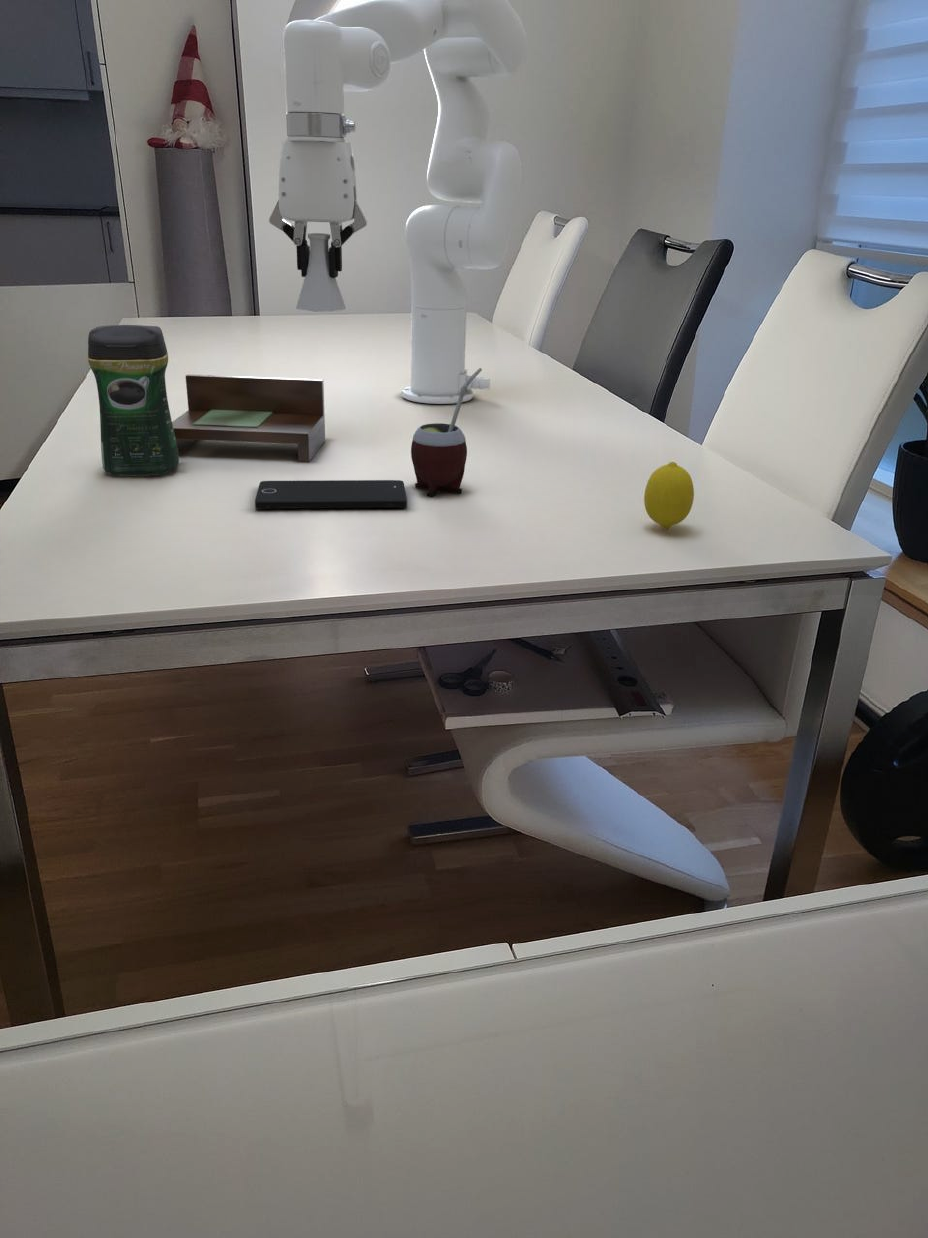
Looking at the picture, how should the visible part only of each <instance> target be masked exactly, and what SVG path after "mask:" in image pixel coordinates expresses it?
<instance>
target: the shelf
mask: <svg viewBox="0 0 928 1238" xmlns="http://www.w3.org/2000/svg"><path fill="white" fill-rule="evenodd" d="M185 387H186V399H187V409H188V410H187V411H185V412H184V413H182V414H181V415H179V416H178V417H177V418H175V419H174V420H172V424H173V429H174V433H175V438H176V443H177V448H178V455H179V456H180V455H181V454H182V453H184V452H185V451H186V450H187V449H188V448H189V447H191V446H192V445H193V444H194V443H195V442H196V441H216V442H217V441H219V442H240V443H241V442H242V443H243V442H244V443H264V444H265V443H269V444H270V443H271V444H292V445H297V451H298V452H297V455H298V462H299V463H310V462H311V461H312V460H313V458H314V457H315V455H316V454H317V452H318V451H319V450H320V448H321V447H322V445H323V444H324V443H325V442H326V419H325V388H324V387H325V385H324V379H321V378H320V379H319V378H318V379H317V378H314V379H313V378H292V377H267V376H265V377H264V376H242V375H237V376H236V375H216V374H215V375H212V374H186V375H185Z"/></svg>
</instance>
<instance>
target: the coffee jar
mask: <svg viewBox="0 0 928 1238" xmlns="http://www.w3.org/2000/svg"><path fill="white" fill-rule="evenodd" d="M87 344H88V346H87V361H88V365H89V367H90V370H91V372H92V374H93V375H94V379H95V382H96V389H97V396H98V406H99V422H100V423H99V425H100V426H99V427H100V451H101V452H100V453H101V454H100V455H101V465H102V470H104V471H105V473H107V474H109V475H111V476H122V477H147V476H156V475H164V474H167V473H168V472H169V473H170V472H172V471H173V472H174V470H176V469H177V468H178V466H179V464H180V457H179V456H180V455H178V448H177V443H176V438H175V433H174V429H173V424H172V422H173V420H172V417H171V416H172V415H171V410H170V405H169V400H168V393H167V383H166V370H167V367H168V364H169V352H168V348H167V344H166V341H165V336H164V333H163V331H162V328H161V327H160V326H158V325H141V324H113V325H110V324H109V325H100V326H96V327H94V328H93V329H90V331H89V333H88V339H87Z"/></svg>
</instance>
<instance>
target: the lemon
mask: <svg viewBox="0 0 928 1238" xmlns="http://www.w3.org/2000/svg"><path fill="white" fill-rule="evenodd" d="M693 482H694V481H693V479H692V477H691V475H690V474H689V472H688V471H687V470H686V469H685V468H684V467H682V466H680V465H678V463H677V462H675V461H669V462H668V463H667V464H665V465H662V466H660V467H658V468H656V469H655V470H654V471H652V473H651V474H650V476H649V478H648V480H647V483H646V485H645V489H644V498H643V503H644V509H645V512H646V513H647V515H648V518H650V519H651V520H652V521H653V522H654V523H656V524H657V525H659V526H660V528H661V529H662V530H669V529H670V528H672V526H674V525H678V524H680V523H682V522H683V521H684V520H685V519H686V518H687V517H688V516H689V514H690V512H691V510H692V507H693V504H694V499H695V494H694V493H695V490H694V489H695V488H694V483H693Z"/></svg>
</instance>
